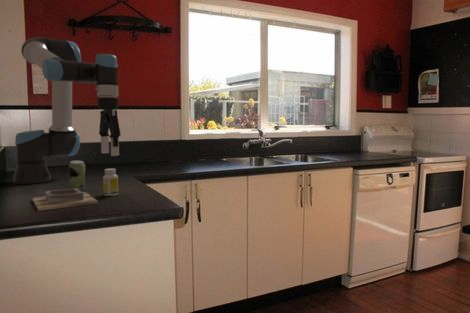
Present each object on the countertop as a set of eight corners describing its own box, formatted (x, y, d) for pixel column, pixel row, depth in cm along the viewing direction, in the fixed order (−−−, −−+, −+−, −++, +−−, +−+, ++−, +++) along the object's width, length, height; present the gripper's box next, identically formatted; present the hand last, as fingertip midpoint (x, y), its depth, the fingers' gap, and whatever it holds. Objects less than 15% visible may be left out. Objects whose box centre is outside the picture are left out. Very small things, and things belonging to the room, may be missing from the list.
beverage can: (80, 188, 155) (79, 159, 154) (89, 190, 150) (88, 160, 149) (65, 190, 150) (64, 160, 149) (74, 192, 145) (73, 162, 144)
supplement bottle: (120, 193, 145) (119, 168, 144) (116, 196, 139) (115, 170, 138) (106, 193, 144) (105, 168, 143) (101, 196, 139) (100, 170, 138)
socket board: (32, 200, 132) (31, 190, 131) (86, 194, 142) (85, 185, 141) (38, 210, 117) (37, 199, 116) (97, 203, 127) (97, 193, 126)
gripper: (89, 98, 146) (91, 152, 148) (106, 94, 126) (108, 157, 128) (109, 99, 151) (111, 151, 153) (128, 95, 130) (130, 156, 132)
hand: (110, 154), depth 140 cm, fingers open, 13 cm apart
